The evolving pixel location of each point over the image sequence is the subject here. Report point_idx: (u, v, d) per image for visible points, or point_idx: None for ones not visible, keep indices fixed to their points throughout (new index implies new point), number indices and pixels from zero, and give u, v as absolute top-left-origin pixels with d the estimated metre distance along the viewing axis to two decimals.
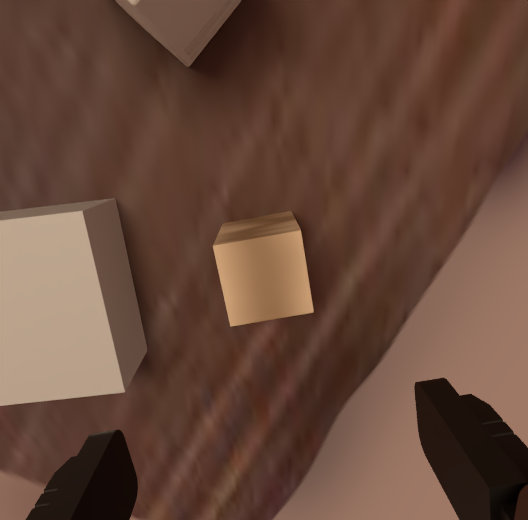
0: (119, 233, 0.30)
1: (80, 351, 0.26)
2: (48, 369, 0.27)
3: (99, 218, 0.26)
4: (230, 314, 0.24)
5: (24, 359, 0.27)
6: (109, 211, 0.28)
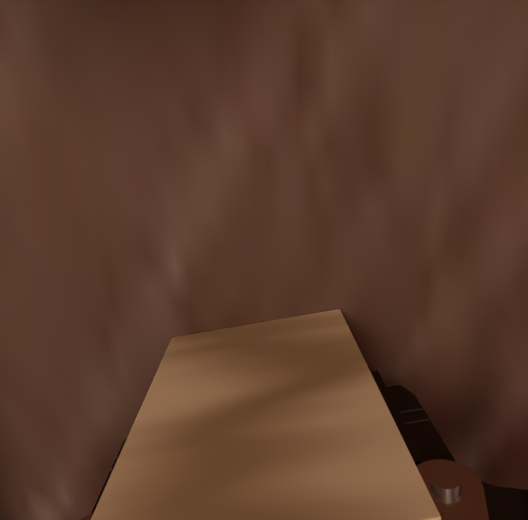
0: None
1: None
2: None
3: None
4: None
5: None
6: None
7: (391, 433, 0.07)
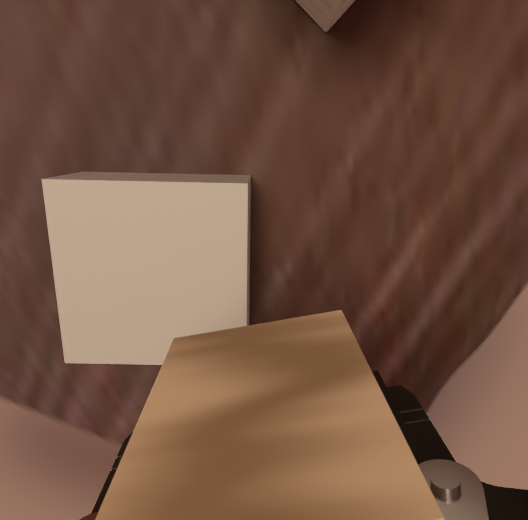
0: None
1: (212, 320, 0.27)
2: (177, 334, 0.27)
3: None
4: None
5: (156, 321, 0.27)
6: None
7: (394, 434, 0.07)
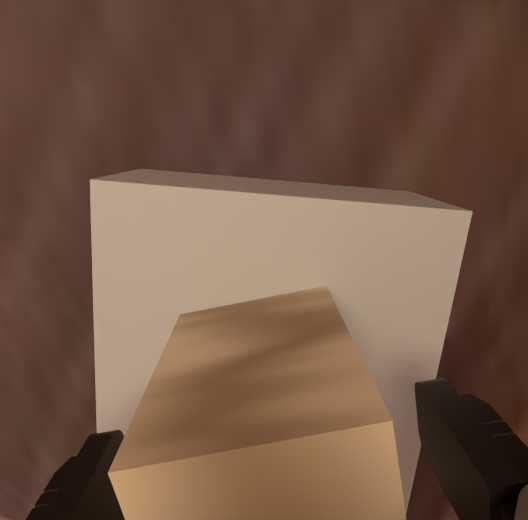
0: None
1: None
2: None
3: None
4: None
5: None
6: None
7: (361, 371, 0.09)
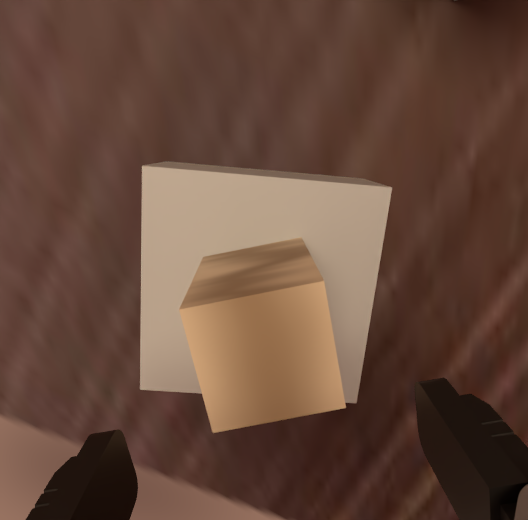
0: None
1: None
2: None
3: None
4: (212, 414, 0.15)
5: None
6: None
7: (313, 267, 0.16)
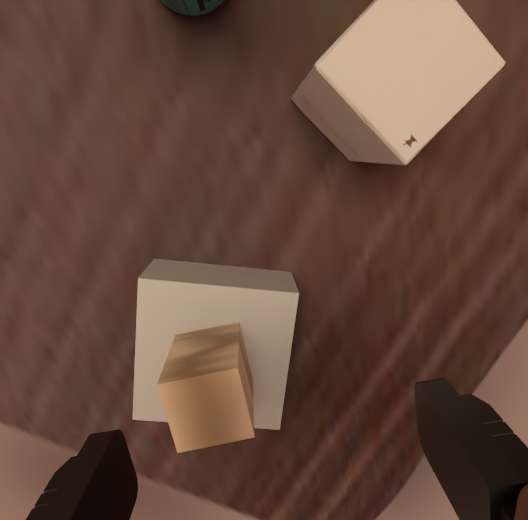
0: None
1: (257, 393, 0.34)
2: None
3: None
4: (177, 442, 0.26)
5: None
6: None
7: (236, 355, 0.27)
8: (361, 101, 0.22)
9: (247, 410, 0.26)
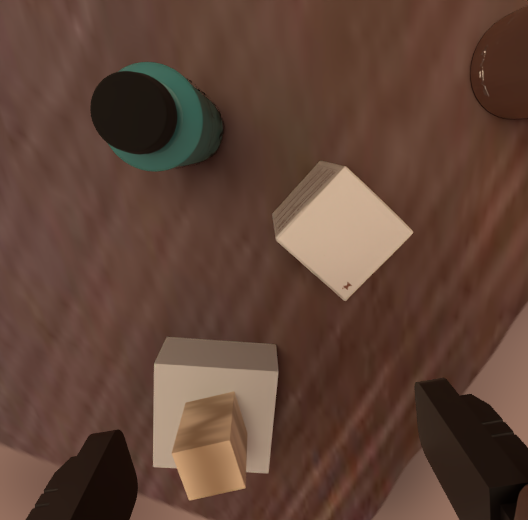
0: None
1: (249, 445, 0.43)
2: None
3: None
4: (188, 493, 0.36)
5: None
6: None
7: (229, 427, 0.36)
8: (310, 261, 0.30)
9: (238, 469, 0.35)
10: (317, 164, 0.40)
